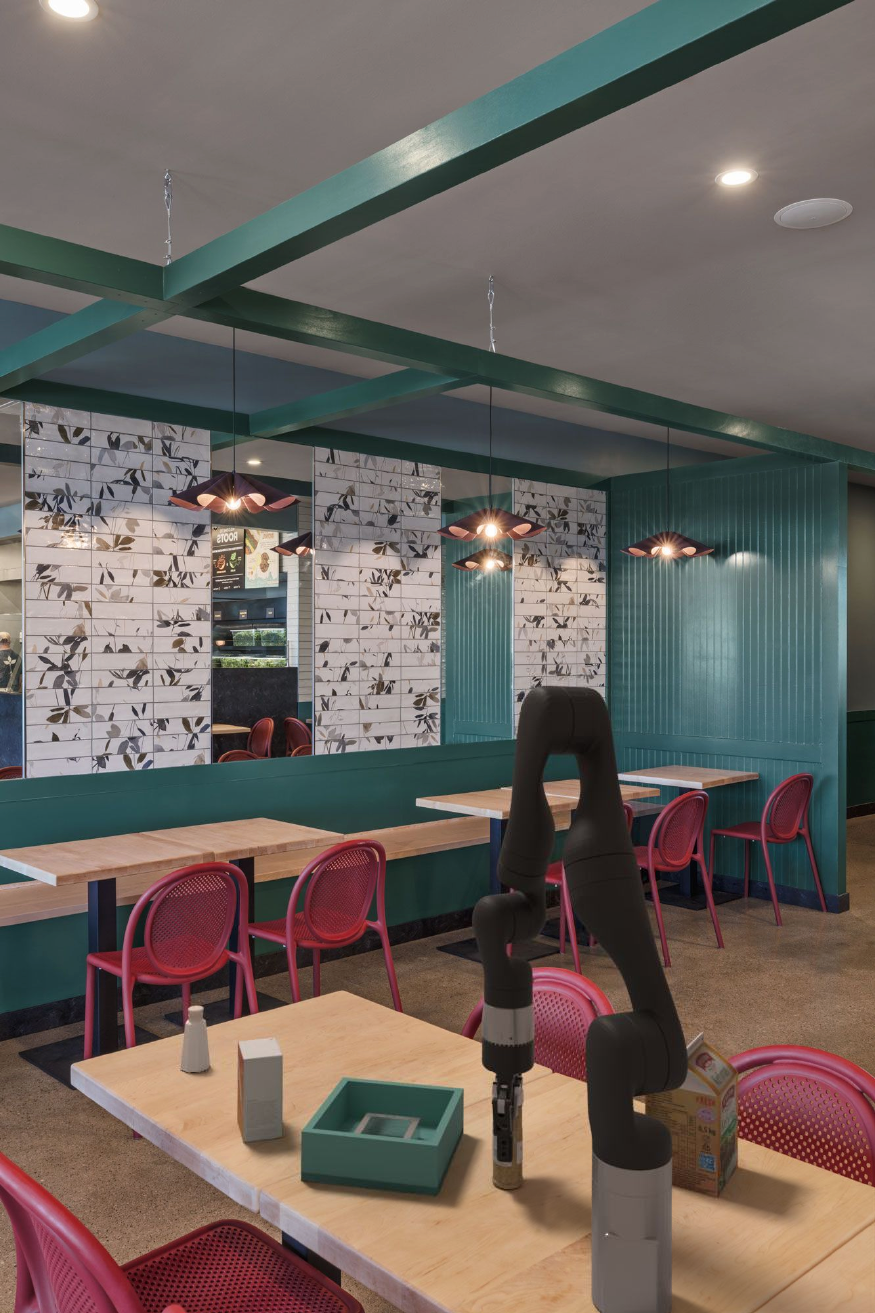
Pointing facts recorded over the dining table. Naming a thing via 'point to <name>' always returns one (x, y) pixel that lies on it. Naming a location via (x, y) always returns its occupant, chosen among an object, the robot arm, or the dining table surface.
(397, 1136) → the socket collar
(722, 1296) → the dining table surface
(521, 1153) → the sprinkles bottle
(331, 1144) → the walled box
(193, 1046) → the salt shaker
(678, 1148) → the milk carton
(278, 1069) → the small box
